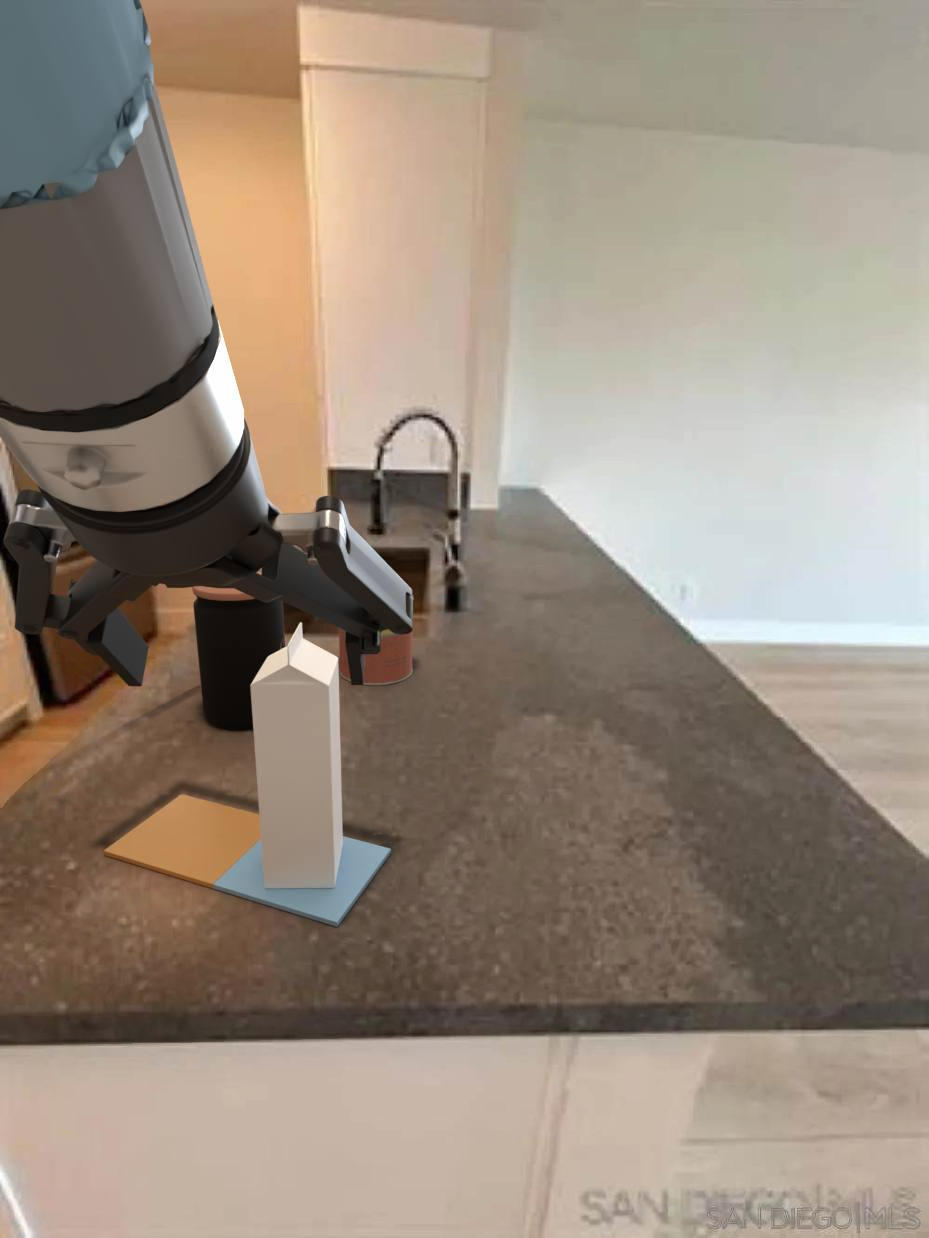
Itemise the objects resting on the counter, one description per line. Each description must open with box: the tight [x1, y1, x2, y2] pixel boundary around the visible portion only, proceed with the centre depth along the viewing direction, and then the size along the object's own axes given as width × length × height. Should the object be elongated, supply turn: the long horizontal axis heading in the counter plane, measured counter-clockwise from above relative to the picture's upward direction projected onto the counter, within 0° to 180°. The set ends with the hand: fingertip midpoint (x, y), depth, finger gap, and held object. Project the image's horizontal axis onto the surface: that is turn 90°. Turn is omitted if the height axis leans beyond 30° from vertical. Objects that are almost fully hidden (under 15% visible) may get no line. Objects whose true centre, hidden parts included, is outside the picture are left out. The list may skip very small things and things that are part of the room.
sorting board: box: [103, 793, 392, 928], centre depth 62 cm, size 24×10×1 cm, turn 70°
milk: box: [250, 621, 344, 889], centre depth 57 cm, size 6×6×22 cm
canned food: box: [338, 594, 415, 687], centre depth 102 cm, size 11×11×12 cm
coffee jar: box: [191, 571, 286, 731], centre depth 86 cm, size 11×11×18 cm
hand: (250, 666), depth 43 cm, fingers open, 13 cm apart
